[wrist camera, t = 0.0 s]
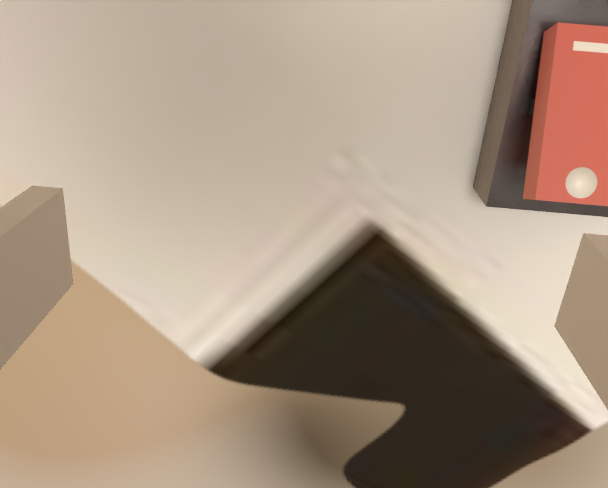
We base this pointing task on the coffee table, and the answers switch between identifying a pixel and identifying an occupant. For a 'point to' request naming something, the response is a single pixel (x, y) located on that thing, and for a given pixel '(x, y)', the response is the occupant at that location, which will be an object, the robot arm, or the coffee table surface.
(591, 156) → the plate
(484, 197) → the power strip
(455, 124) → the coffee table surface
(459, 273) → the coffee table surface
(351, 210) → the coffee table surface
